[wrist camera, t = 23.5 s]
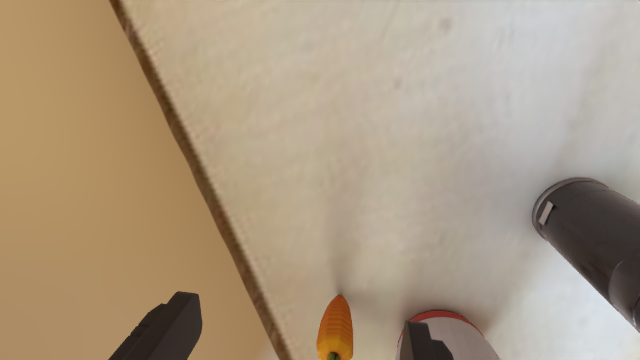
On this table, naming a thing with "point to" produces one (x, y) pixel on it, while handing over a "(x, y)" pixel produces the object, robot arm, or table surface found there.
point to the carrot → (336, 332)
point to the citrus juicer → (455, 336)
